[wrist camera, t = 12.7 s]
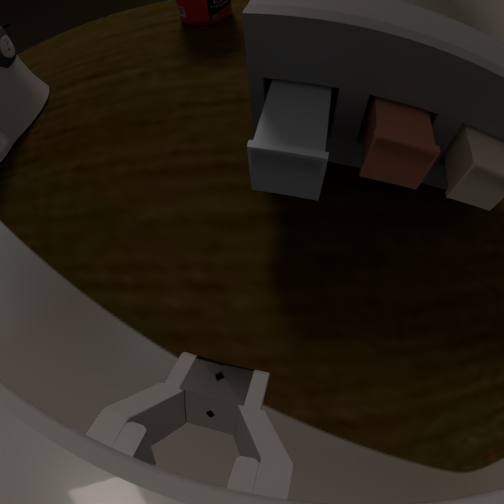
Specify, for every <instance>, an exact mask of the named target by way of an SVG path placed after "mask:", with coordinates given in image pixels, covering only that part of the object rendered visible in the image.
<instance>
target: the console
mask: <svg viewBox="0 0 504 504" xmlns="http://www.w3.org/2000/svg"><path fill="white" fill-rule="evenodd" d="M242 19H243V29H244V39H245V50H246V60H247V70H248V81H249V91H250V102H251V113H252V124H253V135H254V136H255V133H256V130H257V127H258V123H259V120H260V117H261V114H262V110H263V107H264V104H265V101H266V97H267V94H268V91H269V88H270V85H271V82H272V79H282V80H290V81H298V82H305V83H311V84H318V85H324V86H329V87H332V88H331V99H330V110H329V111H333V112H334V113H333V118H332V123H328V129H327V138H326V147H325V152H329V155H328V162H333V163H338V164H343V165H348V166H353V167H357V168H360V167H361V165H362V162H363V130H361V129H360V127H361V123H362V120H363V117H364V113H365V110H366V106H367V103H368V99H369V95H373V96H377V97H381V98H385V99H389V100H393V101H397V102H400V103H404V104H407V105H411V106H414V107H418V108H421V109H424V110H427V111H429V115H430V120H431V125H432V130H433V135H434V141H435V145H436V146H439V147H440V152H441V153H440V154H439V156H438V157H437V159H436V160H435V162H434V164H433V165H432V167H431V168H430V170H429V171H428V173H427V174H426V176H425V177H424V179H423V180H422V182H421V183H423V184H427V185H431V186H434V187H438V188H441V189H445V190H447V189H448V180H447V173H446V166H445V160H444V152H445V151H446V149H447V148H448V146H449V145H450V143H451V141H452V140H453V138H454V137H455V135H456V133H457V132H458V130H459V128H460V127H461V125H462V123H464V124H467V125H470V126H472V127H475V128H477V129H480V130H482V131H484V132H487V133H489V134H491V135H494V136H496V137H498V138H500V139H503V140H504V43H502V42H500V41H498V40H496V39H494V38H492V37H490V36H488V35H486V34H484V33H482V32H480V31H478V30H476V29H474V28H472V27H469V26H467V25H465V24H462V23H460V22H458V21H455V20H453V19H451V18H448V17H445V16H443V15H440V14H438V13H435V12H432V11H429V10H427V9H424V8H420V7H417V6H415V5H411V4H408V3H405V2H401V1H398V0H251V1H250V2H249V3H248V5H247V6H246V8H245V9H244V11H243V12H242Z"/></svg>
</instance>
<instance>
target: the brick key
mask: <svg viewBox="0 0 504 504" xmlns="http://www.w3.org/2000/svg"><path fill="white" fill-rule="evenodd" d="M440 153H441V152H440V147H439V146H436V145H435V141H434V135H433V130H432V125H431V120H430V115H429V111H427V110H424V109H421V108H418V107H414V106H411V105H407V104H404V103H400V102H397V101H393V100H389V99H385V98H381V97H377V96H373V95H369V99H368V103H367V106H366V110H365V113H364V117H363V162H362V165H361V167H360V170H359V176H361V177H365V178H370V179H374V180H379V181H383V182H387V183H391V184H396V185H400V186H404V187H408V188H412V189H415V190H416V189H417V188H418V186H419V185H420V183H421V182H422V180H423V179H424V177H425V176H426V174H427V173H428V171H429V170H430V168H431V167H432V165H433V164H434V162H435V160H436V159H437V157H438V156H439V154H440Z"/></svg>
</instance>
